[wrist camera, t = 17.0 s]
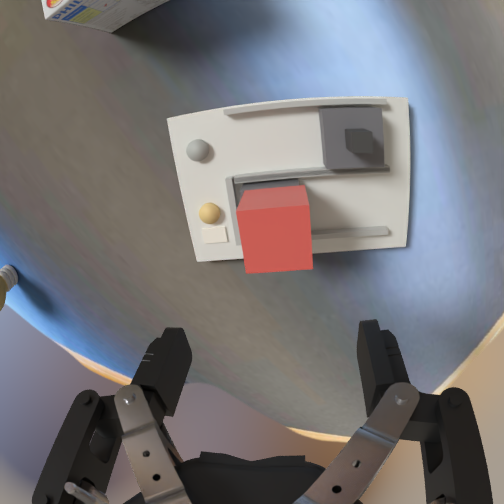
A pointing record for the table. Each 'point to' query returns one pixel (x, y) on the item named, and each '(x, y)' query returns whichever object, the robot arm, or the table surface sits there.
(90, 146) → the table surface
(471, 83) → the table surface
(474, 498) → the robot arm
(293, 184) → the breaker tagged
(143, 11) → the light bulb box
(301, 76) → the table surface
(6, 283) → the light bulb
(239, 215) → the cap
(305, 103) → the panel
